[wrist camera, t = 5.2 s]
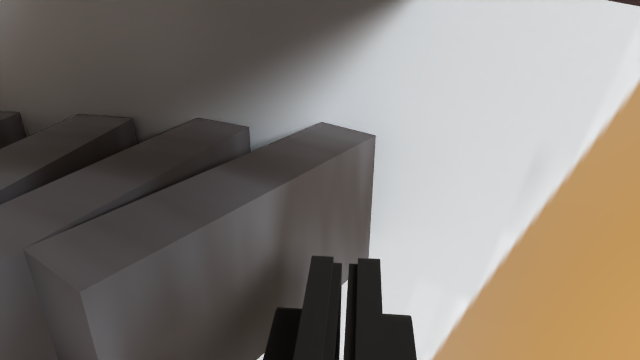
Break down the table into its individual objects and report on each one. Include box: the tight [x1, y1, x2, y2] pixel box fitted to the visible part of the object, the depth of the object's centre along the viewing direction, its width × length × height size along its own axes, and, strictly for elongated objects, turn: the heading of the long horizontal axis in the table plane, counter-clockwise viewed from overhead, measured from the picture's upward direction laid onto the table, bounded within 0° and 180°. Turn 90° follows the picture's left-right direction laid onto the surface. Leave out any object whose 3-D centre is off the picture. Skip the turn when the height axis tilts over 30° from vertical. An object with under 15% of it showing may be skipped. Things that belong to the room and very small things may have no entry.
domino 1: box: [0, 114, 137, 205], centre depth 14 cm, size 5×2×10 cm, turn 0°
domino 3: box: [23, 122, 376, 360], centre depth 14 cm, size 5×2×10 cm
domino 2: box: [0, 118, 251, 360], centre depth 14 cm, size 5×2×10 cm, turn 0°
